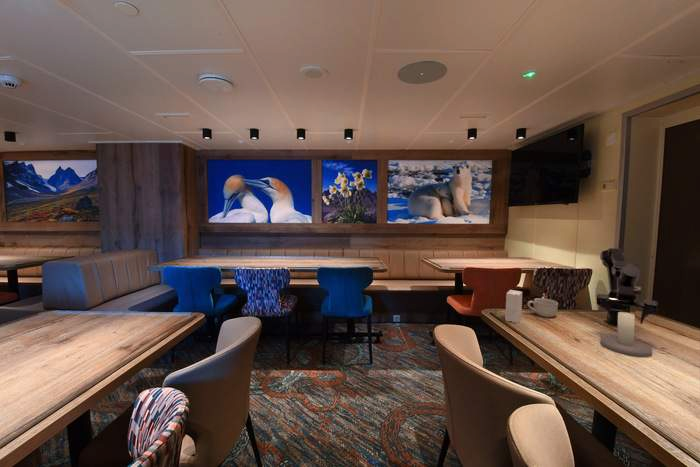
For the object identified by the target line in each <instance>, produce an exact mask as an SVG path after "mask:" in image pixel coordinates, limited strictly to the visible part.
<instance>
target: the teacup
mask: <svg viewBox="0 0 700 467" xmlns="http://www.w3.org/2000/svg"><path fill="white" fill-rule="evenodd" d="M531 303H532V304H533V307H532V306H531ZM526 304H527V307H528V308H529V309H531V310H532V311H533V312H535V313H536V315H538V316H540V317H543V318H553V317H554V316H556V315H557V314H558V307H559V303H558V301H555V300H554V299H550V298H549V299H548V298H545V297H543V298H542V297H540V298H539V297H538V298H537V297H536V298H533V300H528V301H527V303H526Z"/></svg>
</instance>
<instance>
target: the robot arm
mask: <svg viewBox="0 0 700 467" xmlns="http://www.w3.org/2000/svg"><path fill="white" fill-rule="evenodd" d="M599 259H600V261H601V264H602V265H603V266H604V267H605V268H606V272H607V279H608V288H609V293H608V294H603V293H597V295H596V304H597V306H600V307H601V308H603V309H604V310H605V312H606V319H604V320H603V321H604V322H605V323H607V324H609V325H613V326H615V327H618V312H627V313H630V312H631V311H630V310H631V307H635V308H641V309H642V311H641V316H640V322H639V323H640V325H643V323H644V321H645V320H646V319H647V318H648V316H649V315H652V316H653V315H656V314H658V310H659V303H658V302H657V301H656V300H648V299H644V300H643V302H639V301H636V299H637V298H636V297H637V296H642V287H641V286H636V284H637V282H638V280H639V278H640V275H641V274H642V270H641V269H640V268H639V267H636V266H634V264H633V263H630V262H627V260H626V258H625V255H624V252H623V250H622V248H617V247H616V248H615V247H613V248H611V247H610V248H607V249H606V250H602V251H601V252H600V255H599Z"/></svg>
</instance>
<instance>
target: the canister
mask: <svg viewBox="0 0 700 467" xmlns="http://www.w3.org/2000/svg"><path fill="white" fill-rule="evenodd" d="M635 316H636V315H635V314H634V313H627V312H618V326H617V332H616V334H617V335H616V336H617V342H618V343H620V344H623V345H627V346H633V345H634V340H635V320H636V318H635Z"/></svg>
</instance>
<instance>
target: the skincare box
mask: <svg viewBox="0 0 700 467" xmlns="http://www.w3.org/2000/svg"><path fill="white" fill-rule="evenodd" d="M505 296H506V300H505V315H504V316H505V322H509V321H512V322H511V323H513V322H517V323H516V324H518V323H519V322H520V321H521V320H522V311H523V291H520V290H514V289H509V290H508V291H507V292H506V294H505ZM520 319H521V320H520Z"/></svg>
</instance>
